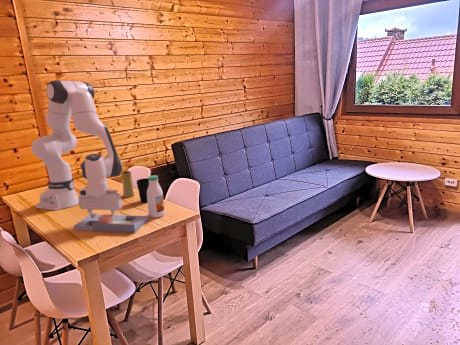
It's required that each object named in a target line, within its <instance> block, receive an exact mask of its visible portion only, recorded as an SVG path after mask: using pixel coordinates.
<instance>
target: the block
mask: <svg viewBox="0 0 460 345" xmlns="http://www.w3.org/2000/svg"><path fill="white" fill-rule="evenodd" d="M101 215H102V216H101V217H99V218H98V219H99V223H113V222H114V220H113V215H110V214H107V213H104V214H101Z"/></svg>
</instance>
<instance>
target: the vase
mask: <svg viewBox="0 0 460 345" xmlns="http://www.w3.org/2000/svg"><path fill="white" fill-rule="evenodd" d="M120 175H121V182H122V193H123V194H122V195H123V197H124V198H133V197H134V196H135V194H134V193H135V192H134V186H133V178H132V172H131V171H130V170H127V171H126V170H124V171H122V172H121V173H120Z"/></svg>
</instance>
